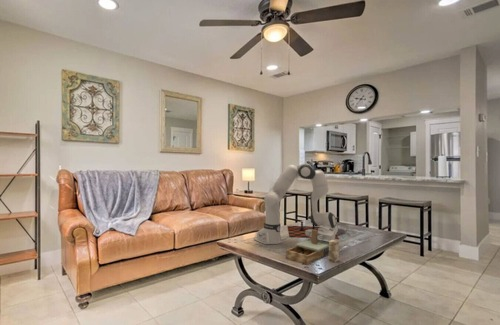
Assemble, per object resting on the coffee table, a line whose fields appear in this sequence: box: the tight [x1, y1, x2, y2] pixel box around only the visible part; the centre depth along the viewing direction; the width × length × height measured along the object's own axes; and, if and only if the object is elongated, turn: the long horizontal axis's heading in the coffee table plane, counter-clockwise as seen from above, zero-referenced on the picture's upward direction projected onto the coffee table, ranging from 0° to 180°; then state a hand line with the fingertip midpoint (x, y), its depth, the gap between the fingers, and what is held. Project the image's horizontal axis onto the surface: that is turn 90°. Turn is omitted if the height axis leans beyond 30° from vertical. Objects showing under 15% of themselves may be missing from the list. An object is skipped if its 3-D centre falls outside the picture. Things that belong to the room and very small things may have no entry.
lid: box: [295, 230, 329, 252], centre depth 184 cm, size 17×21×10 cm
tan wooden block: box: [328, 239, 340, 263], centre depth 170 cm, size 4×4×12 cm
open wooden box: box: [285, 245, 325, 265], centre depth 174 cm, size 16×20×5 cm
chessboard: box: [286, 221, 340, 240], centre depth 239 cm, size 40×40×11 cm
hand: (314, 236), depth 183 cm, fingers closed on lid, 3 cm apart
